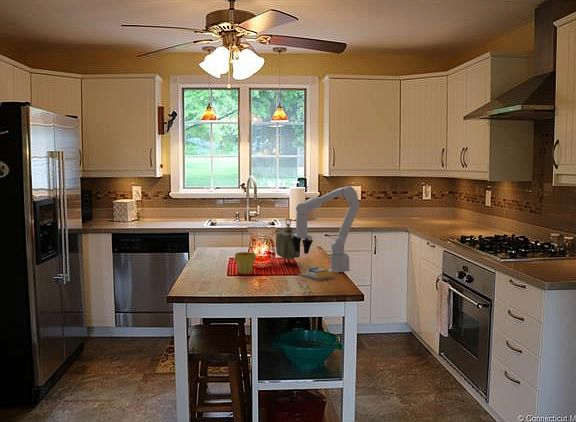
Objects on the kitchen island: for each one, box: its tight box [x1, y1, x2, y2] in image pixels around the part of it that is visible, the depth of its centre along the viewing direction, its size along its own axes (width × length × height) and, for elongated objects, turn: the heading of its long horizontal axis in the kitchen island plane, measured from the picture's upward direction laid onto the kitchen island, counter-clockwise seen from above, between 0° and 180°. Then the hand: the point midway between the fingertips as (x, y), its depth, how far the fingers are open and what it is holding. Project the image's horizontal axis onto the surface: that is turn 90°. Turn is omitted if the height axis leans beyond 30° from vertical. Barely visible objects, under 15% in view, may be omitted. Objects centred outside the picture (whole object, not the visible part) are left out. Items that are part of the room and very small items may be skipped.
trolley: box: [306, 265, 329, 274], centre depth 261 cm, size 6×9×4 cm
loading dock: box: [297, 271, 335, 281], centre depth 263 cm, size 10×16×4 cm, turn 37°
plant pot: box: [234, 251, 257, 275], centre depth 271 cm, size 10×10×10 cm
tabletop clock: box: [275, 218, 301, 266], centre depth 296 cm, size 14×9×25 cm, turn 22°
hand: (301, 252), depth 276 cm, fingers open, 7 cm apart
